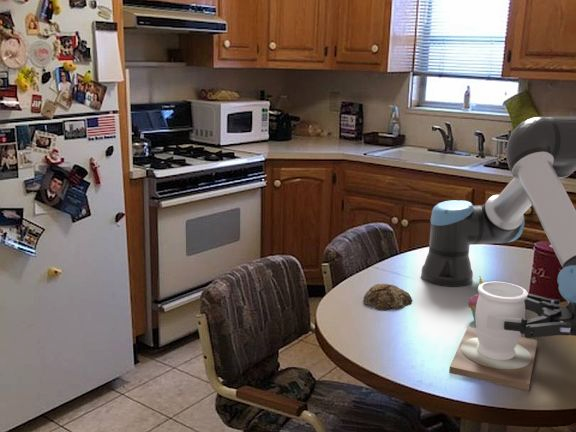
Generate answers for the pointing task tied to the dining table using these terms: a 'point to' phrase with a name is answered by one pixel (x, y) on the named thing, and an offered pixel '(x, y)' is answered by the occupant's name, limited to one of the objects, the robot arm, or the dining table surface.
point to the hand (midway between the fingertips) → (484, 309)
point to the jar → (498, 303)
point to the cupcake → (474, 301)
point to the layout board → (495, 362)
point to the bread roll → (387, 297)
